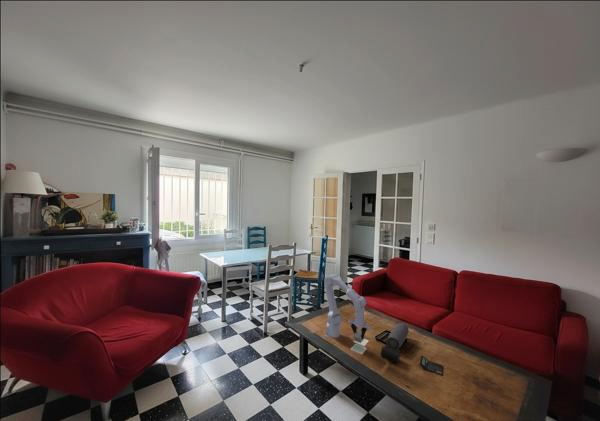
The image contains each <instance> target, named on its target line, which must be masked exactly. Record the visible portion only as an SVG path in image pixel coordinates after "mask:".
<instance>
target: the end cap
mask: <svg viewBox="0 0 600 421" xmlns="http://www.w3.org/2000/svg"><path fill="white" fill-rule="evenodd" d="M380 357H382V358H384V359H387V360H389V361H390V362H393V363H395V364H399V363H400V358H401V350H400V348H399V349H396V348H395V349H394V350H393V349H391V348H390V346H388V345H387V344H385V345H384V346H382V347H381V350H380Z"/></svg>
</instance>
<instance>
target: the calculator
mask: <svg viewBox="0 0 600 421" xmlns="http://www.w3.org/2000/svg"><path fill="white" fill-rule="evenodd" d="M419 366H421V367H422V368H423V369H424V370H425V371H427V372H430V373H433V374H436V375H439V376H443V371H444V370H443V367H444V365H443V364H440V363H437V362H435V361H431V360H428V359H427V357H425V356H424V355H420V360H419Z"/></svg>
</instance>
